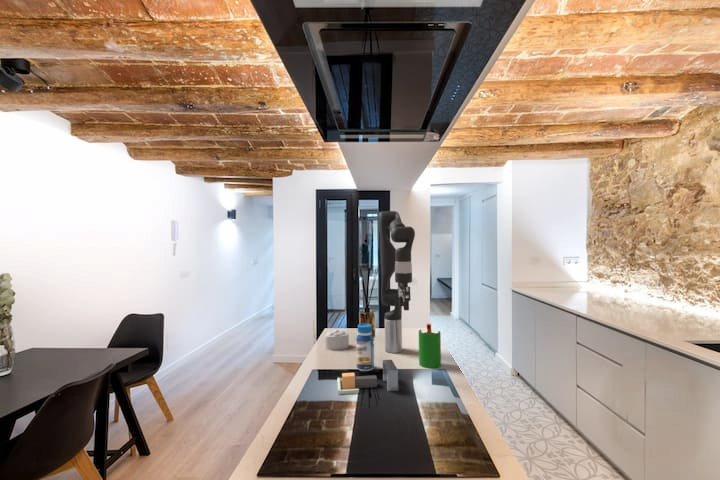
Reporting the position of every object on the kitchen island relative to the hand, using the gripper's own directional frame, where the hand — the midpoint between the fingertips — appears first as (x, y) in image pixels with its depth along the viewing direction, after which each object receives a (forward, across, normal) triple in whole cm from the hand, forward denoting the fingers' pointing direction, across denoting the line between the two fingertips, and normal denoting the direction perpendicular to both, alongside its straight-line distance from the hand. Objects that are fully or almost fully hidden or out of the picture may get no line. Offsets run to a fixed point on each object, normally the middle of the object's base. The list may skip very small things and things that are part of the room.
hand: (404, 308), depth 145 cm
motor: (+30, -9, +14) cm, 34 cm away
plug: (+29, +10, -21) cm, 37 cm away
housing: (+29, +10, -9) cm, 32 cm away
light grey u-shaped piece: (+29, +10, -26) cm, 40 cm away
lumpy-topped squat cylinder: (+30, -43, -29) cm, 60 cm away
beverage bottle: (+29, -9, -17) cm, 35 cm away
